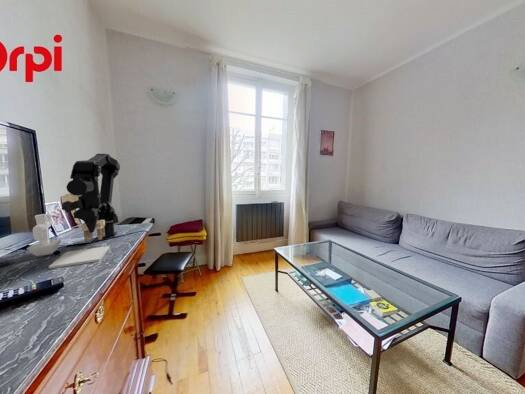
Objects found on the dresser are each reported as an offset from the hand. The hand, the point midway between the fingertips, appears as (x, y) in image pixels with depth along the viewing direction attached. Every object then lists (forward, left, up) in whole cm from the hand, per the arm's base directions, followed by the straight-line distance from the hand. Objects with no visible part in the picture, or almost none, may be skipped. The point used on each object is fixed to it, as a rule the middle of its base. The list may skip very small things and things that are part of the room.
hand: (94, 230), depth 83 cm
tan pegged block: (0, 0, -4) cm, 4 cm away
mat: (+12, -1, -7) cm, 14 cm away
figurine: (+1, -15, -7) cm, 17 cm away
